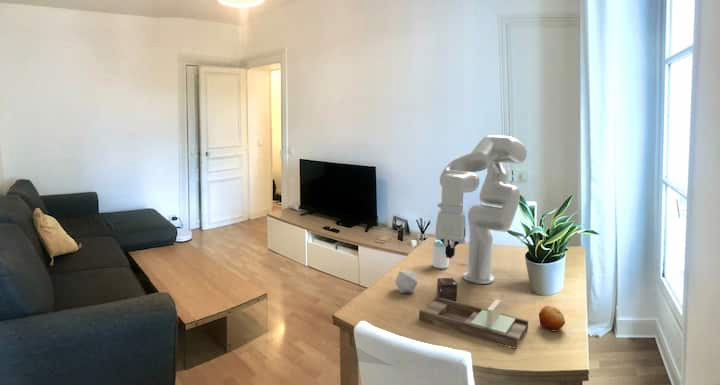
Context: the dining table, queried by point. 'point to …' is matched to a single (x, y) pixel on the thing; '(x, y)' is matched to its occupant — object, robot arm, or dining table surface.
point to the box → (447, 288)
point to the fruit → (551, 318)
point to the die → (406, 281)
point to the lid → (494, 319)
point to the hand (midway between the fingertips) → (449, 256)
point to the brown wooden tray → (461, 317)
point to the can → (439, 255)
